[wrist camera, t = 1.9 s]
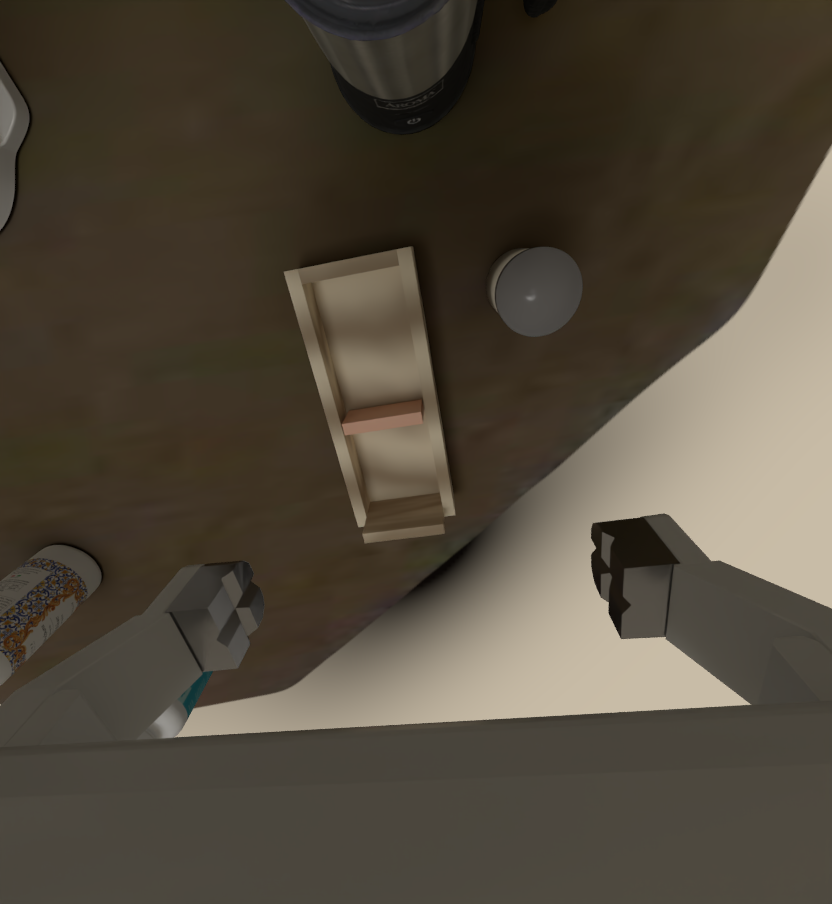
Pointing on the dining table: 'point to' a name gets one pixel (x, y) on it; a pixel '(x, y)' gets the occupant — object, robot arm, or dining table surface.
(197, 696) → the pill bottle
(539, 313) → the cream jar
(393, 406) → the block
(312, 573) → the dining table surface
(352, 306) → the wooden tray
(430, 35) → the milk frother
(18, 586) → the bath foam
